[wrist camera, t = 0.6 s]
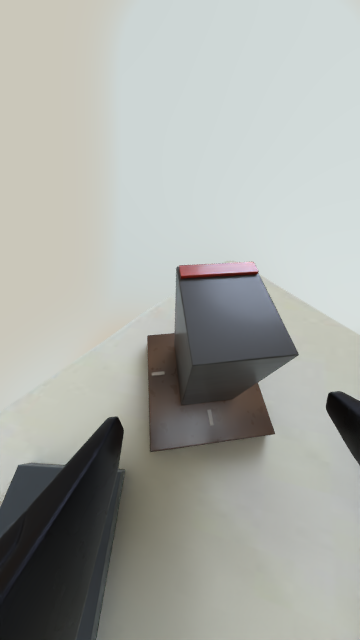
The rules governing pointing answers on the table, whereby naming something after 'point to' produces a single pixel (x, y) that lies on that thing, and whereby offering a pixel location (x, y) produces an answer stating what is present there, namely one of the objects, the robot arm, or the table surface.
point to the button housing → (34, 481)
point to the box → (225, 331)
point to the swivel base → (196, 407)
